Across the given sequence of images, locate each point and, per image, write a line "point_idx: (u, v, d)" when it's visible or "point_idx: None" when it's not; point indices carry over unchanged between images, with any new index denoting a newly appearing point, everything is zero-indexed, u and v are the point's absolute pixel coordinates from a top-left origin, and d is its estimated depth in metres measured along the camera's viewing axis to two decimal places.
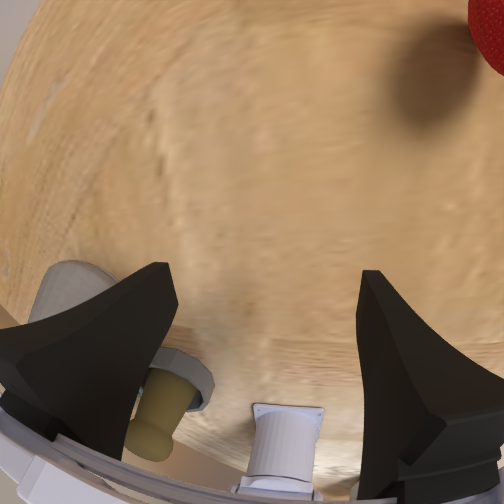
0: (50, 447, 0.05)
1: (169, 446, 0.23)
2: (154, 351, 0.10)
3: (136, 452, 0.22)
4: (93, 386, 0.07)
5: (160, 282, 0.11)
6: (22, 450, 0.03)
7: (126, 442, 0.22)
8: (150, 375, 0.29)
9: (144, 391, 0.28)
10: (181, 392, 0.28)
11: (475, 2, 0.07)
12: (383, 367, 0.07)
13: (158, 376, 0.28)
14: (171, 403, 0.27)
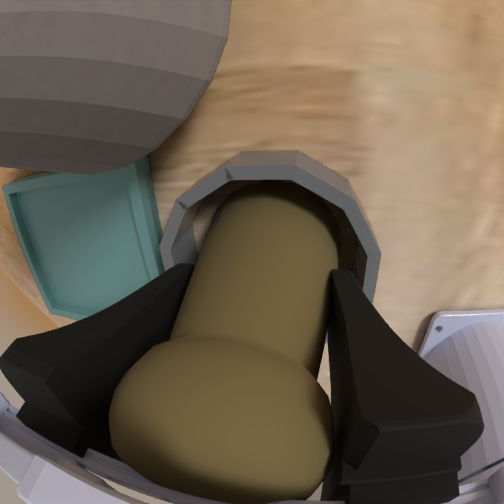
0: (50, 447, 0.05)
1: (333, 441, 0.06)
2: None
3: (182, 492, 0.05)
4: None
5: (186, 284, 0.11)
6: (22, 450, 0.03)
7: (134, 448, 0.04)
8: (218, 225, 0.11)
9: (203, 260, 0.10)
10: (323, 256, 0.10)
11: None
12: (341, 367, 0.07)
13: (247, 214, 0.11)
14: (308, 280, 0.09)
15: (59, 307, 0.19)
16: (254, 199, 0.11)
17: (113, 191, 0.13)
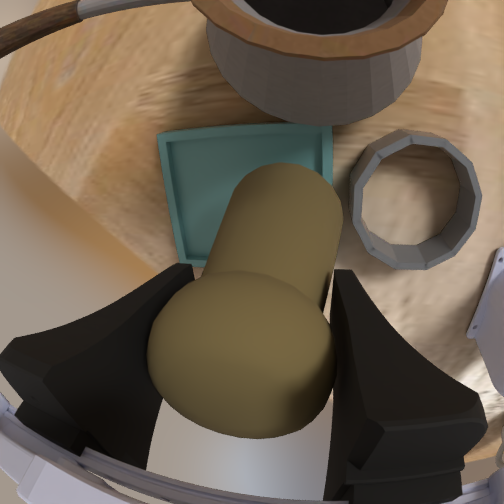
0: (50, 447, 0.05)
1: (335, 363, 0.07)
2: None
3: (208, 405, 0.07)
4: (121, 395, 0.07)
5: (184, 284, 0.11)
6: (22, 450, 0.03)
7: (171, 359, 0.06)
8: (236, 198, 0.13)
9: (224, 225, 0.12)
10: (325, 221, 0.12)
11: None
12: (344, 367, 0.07)
13: (260, 188, 0.12)
14: (312, 237, 0.10)
15: (195, 258, 0.23)
16: (266, 177, 0.13)
17: (300, 145, 0.18)
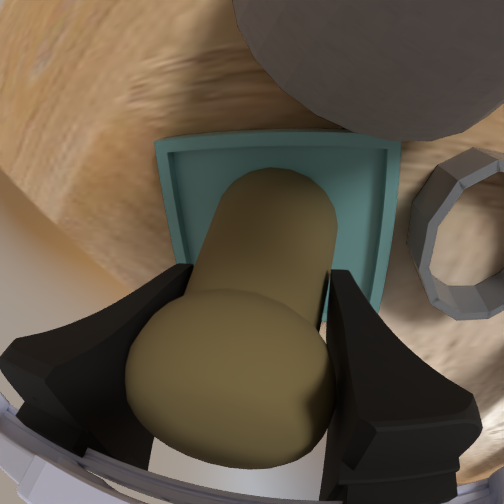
0: (50, 447, 0.05)
1: (335, 389, 0.06)
2: None
3: (194, 439, 0.05)
4: (123, 396, 0.07)
5: (186, 284, 0.11)
6: (22, 450, 0.03)
7: (149, 391, 0.05)
8: (222, 207, 0.12)
9: (210, 236, 0.11)
10: (320, 230, 0.11)
11: None
12: (339, 367, 0.07)
13: (249, 195, 0.12)
14: (306, 248, 0.09)
15: None
16: (255, 183, 0.12)
17: (355, 163, 0.13)
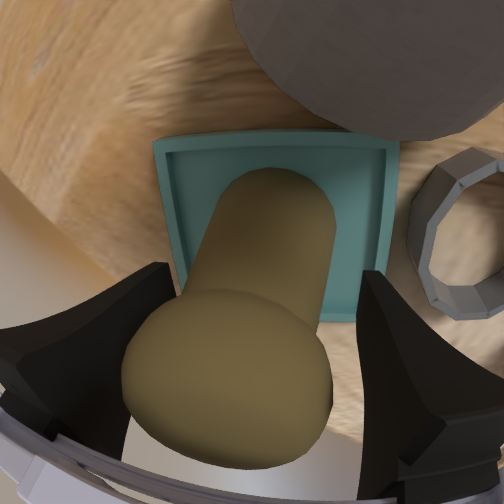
0: (50, 447, 0.05)
1: (331, 390, 0.06)
2: None
3: (189, 439, 0.05)
4: (93, 386, 0.07)
5: (160, 282, 0.11)
6: (22, 450, 0.03)
7: (145, 391, 0.05)
8: (221, 207, 0.12)
9: (207, 236, 0.11)
10: (318, 230, 0.11)
11: None
12: (383, 367, 0.07)
13: (247, 195, 0.11)
14: (303, 248, 0.09)
15: None
16: (253, 183, 0.12)
17: (354, 163, 0.13)
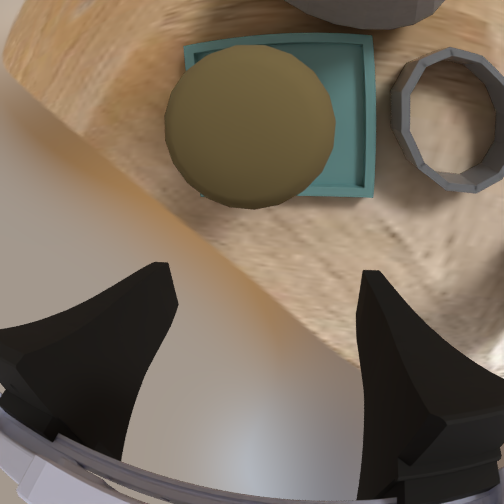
0: (50, 447, 0.05)
1: (332, 113, 0.08)
2: (154, 351, 0.10)
3: (222, 120, 0.07)
4: (93, 386, 0.07)
5: (160, 282, 0.11)
6: (22, 450, 0.03)
7: (194, 79, 0.07)
8: None
9: None
10: None
11: None
12: (383, 367, 0.07)
13: None
14: None
15: None
16: None
17: (339, 57, 0.14)
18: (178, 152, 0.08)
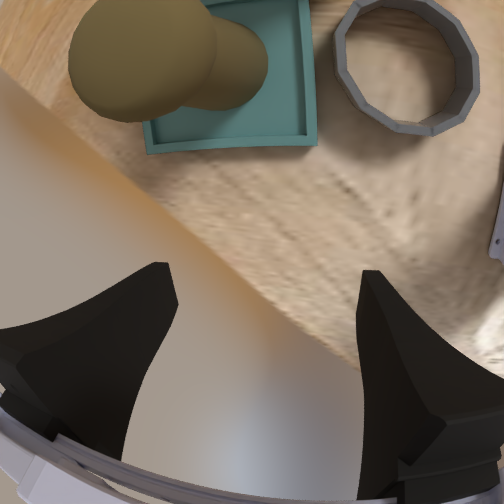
0: (50, 447, 0.05)
1: (210, 24, 0.07)
2: (154, 351, 0.10)
3: (100, 39, 0.06)
4: (93, 386, 0.07)
5: (160, 282, 0.11)
6: (22, 450, 0.03)
7: (87, 15, 0.06)
8: None
9: None
10: (237, 27, 0.12)
11: None
12: (383, 367, 0.07)
13: None
14: (218, 19, 0.10)
15: (163, 143, 0.19)
16: None
17: (276, 11, 0.14)
18: (73, 75, 0.07)
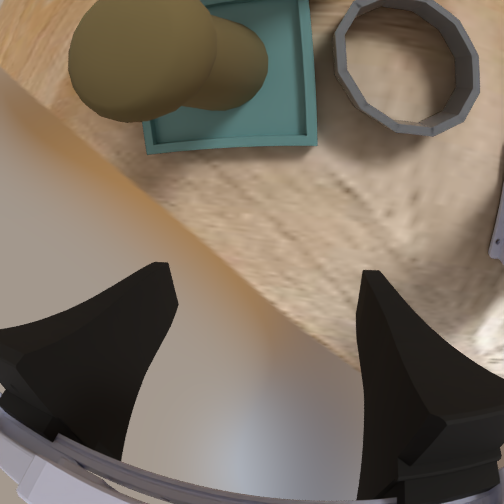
0: (50, 447, 0.05)
1: (210, 24, 0.07)
2: (154, 351, 0.10)
3: (100, 39, 0.06)
4: (93, 386, 0.07)
5: (160, 282, 0.11)
6: (22, 450, 0.03)
7: (87, 15, 0.06)
8: None
9: None
10: (237, 27, 0.12)
11: None
12: (383, 367, 0.07)
13: None
14: (218, 19, 0.10)
15: (163, 143, 0.19)
16: None
17: (276, 11, 0.14)
18: (73, 75, 0.07)
